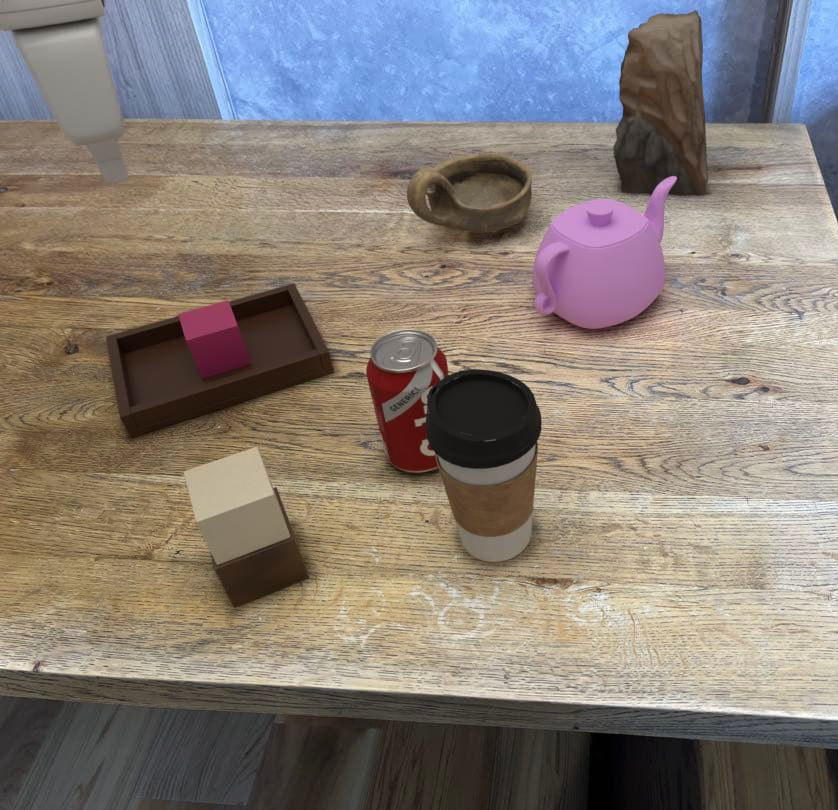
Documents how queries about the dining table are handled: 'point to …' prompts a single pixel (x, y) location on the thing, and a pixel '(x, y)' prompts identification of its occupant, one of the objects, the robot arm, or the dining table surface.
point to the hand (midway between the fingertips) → (110, 155)
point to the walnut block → (263, 569)
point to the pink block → (214, 339)
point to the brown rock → (663, 107)
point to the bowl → (472, 192)
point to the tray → (193, 396)
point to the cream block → (235, 505)
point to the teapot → (602, 261)
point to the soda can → (405, 394)
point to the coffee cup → (486, 458)
